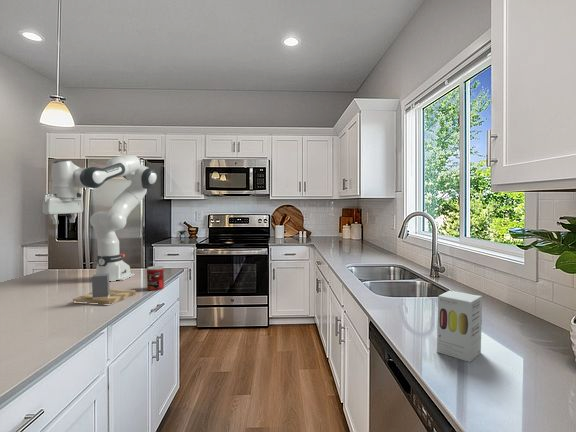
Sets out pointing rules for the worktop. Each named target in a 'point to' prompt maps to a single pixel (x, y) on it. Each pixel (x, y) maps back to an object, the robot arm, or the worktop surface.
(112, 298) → the oak board
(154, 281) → the canned food
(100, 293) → the block
